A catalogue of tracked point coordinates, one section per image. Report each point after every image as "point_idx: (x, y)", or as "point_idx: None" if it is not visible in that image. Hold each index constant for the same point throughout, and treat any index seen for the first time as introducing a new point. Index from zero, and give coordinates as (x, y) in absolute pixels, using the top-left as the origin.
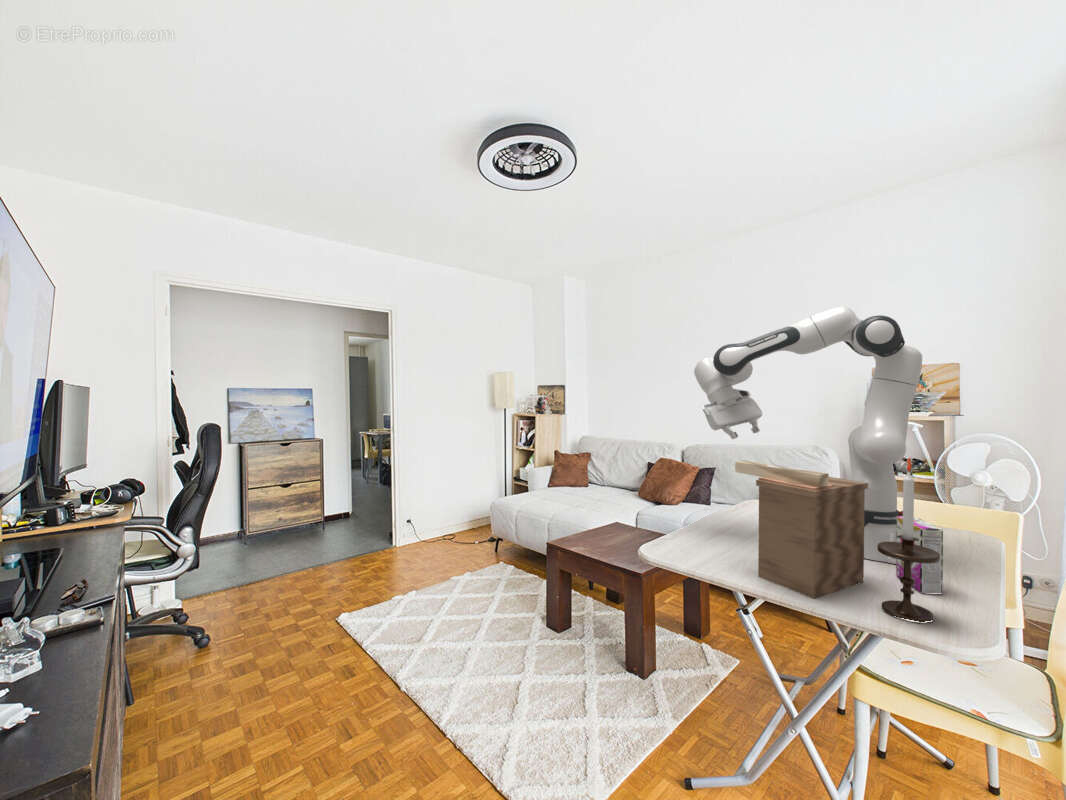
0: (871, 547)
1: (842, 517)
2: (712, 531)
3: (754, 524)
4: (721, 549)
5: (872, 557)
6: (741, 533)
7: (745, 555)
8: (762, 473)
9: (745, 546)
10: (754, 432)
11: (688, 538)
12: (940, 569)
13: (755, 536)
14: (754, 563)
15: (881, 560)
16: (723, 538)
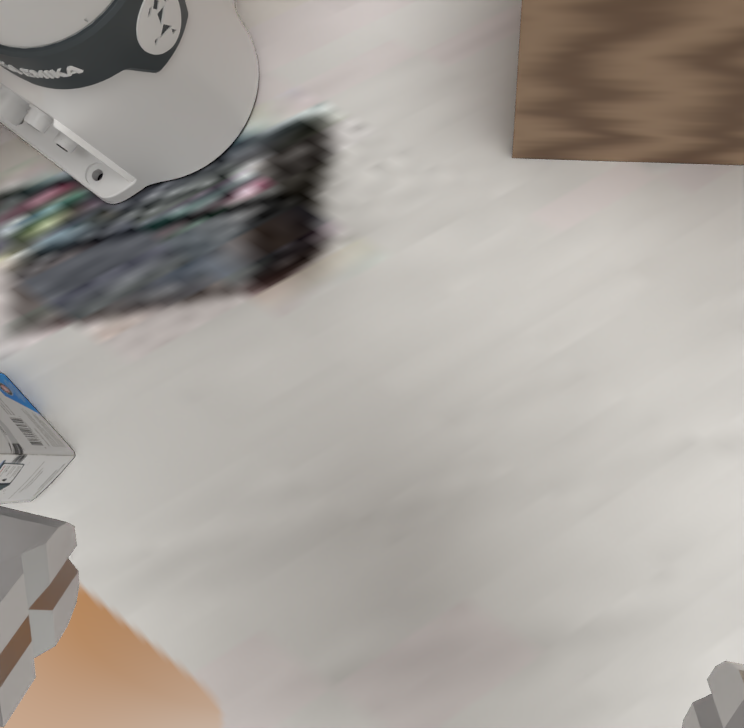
0: (226, 26)
1: None
2: (469, 701)
3: (155, 630)
4: (699, 480)
5: (248, 42)
6: (364, 578)
7: (668, 359)
8: None
9: (544, 438)
10: (73, 585)
11: None
12: None
13: (350, 503)
14: (730, 273)
15: (240, 21)
16: (527, 584)
